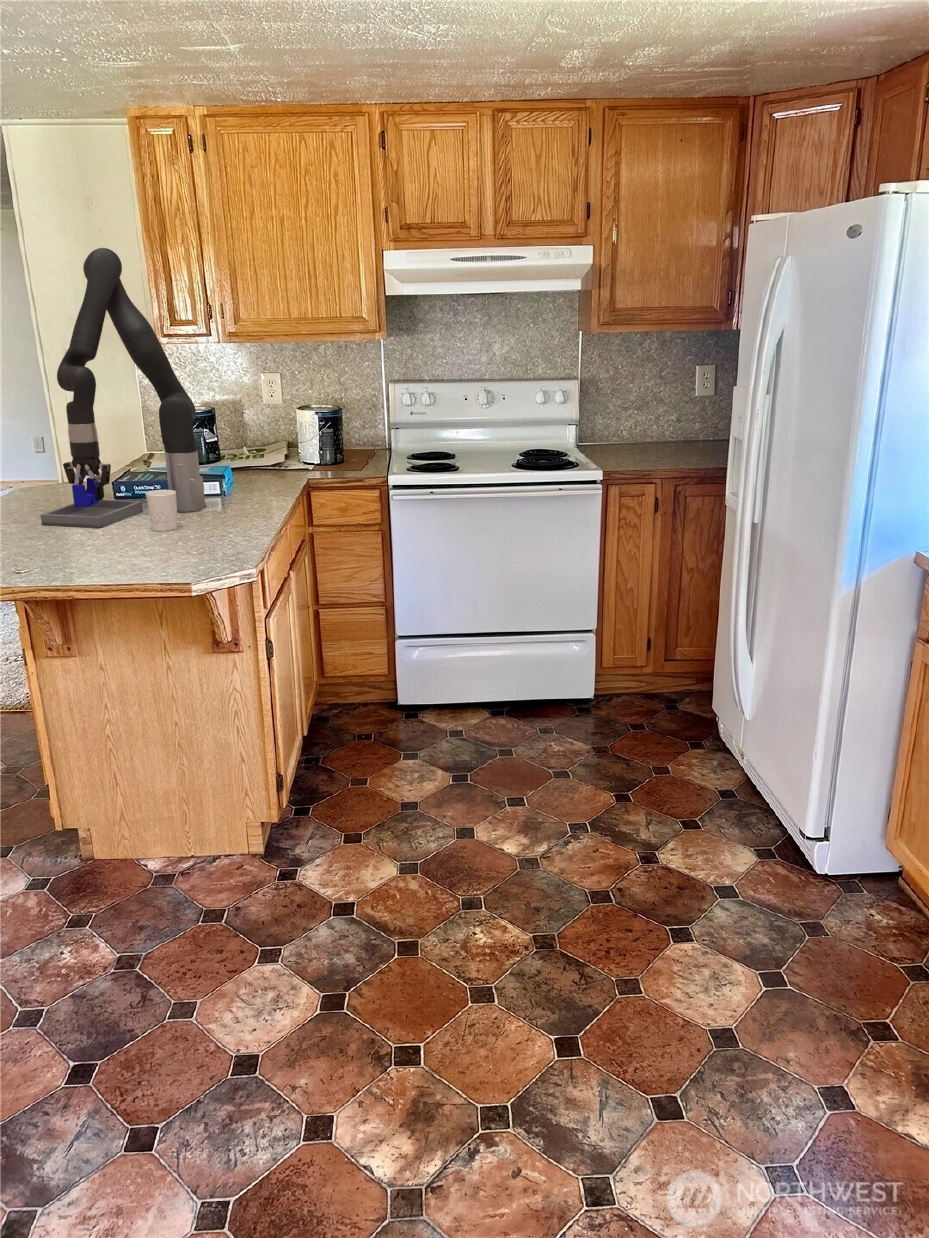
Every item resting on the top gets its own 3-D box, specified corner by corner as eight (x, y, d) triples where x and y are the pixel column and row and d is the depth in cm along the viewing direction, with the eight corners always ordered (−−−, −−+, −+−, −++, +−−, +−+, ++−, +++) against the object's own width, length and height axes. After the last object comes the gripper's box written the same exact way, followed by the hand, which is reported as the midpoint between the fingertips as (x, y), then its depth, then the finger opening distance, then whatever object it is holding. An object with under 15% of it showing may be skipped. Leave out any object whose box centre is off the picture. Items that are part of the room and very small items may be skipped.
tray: (142, 511, 273) (141, 501, 272) (100, 528, 252) (99, 517, 251) (88, 508, 276) (86, 498, 275) (42, 525, 256) (40, 514, 255)
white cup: (185, 526, 255) (181, 490, 252) (167, 533, 248) (164, 496, 245) (161, 524, 258) (157, 489, 254) (143, 530, 251) (139, 494, 247)
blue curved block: (90, 507, 257) (88, 485, 255) (74, 506, 257) (71, 485, 255) (106, 498, 268) (103, 477, 266) (90, 498, 268) (88, 477, 266)
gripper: (114, 438, 259) (121, 498, 265) (69, 436, 262) (76, 495, 268) (98, 442, 252) (105, 503, 258) (52, 440, 255) (60, 500, 261)
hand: (91, 499), depth 263 cm, fingers closed on blue curved block, 5 cm apart
